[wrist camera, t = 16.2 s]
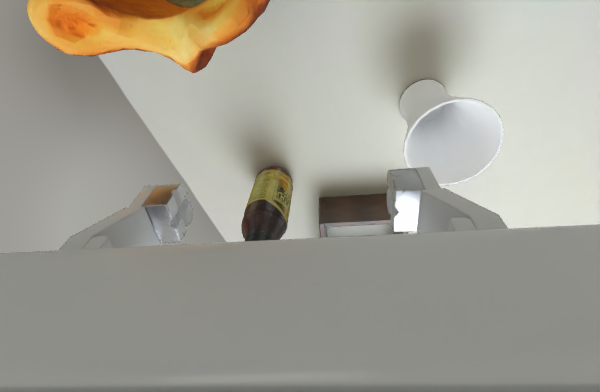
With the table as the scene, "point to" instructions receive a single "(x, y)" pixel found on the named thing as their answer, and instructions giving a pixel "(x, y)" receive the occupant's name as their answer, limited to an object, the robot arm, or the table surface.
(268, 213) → the sauce bottle
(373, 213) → the caddy
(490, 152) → the cup
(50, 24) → the decorative vase
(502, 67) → the table surface
